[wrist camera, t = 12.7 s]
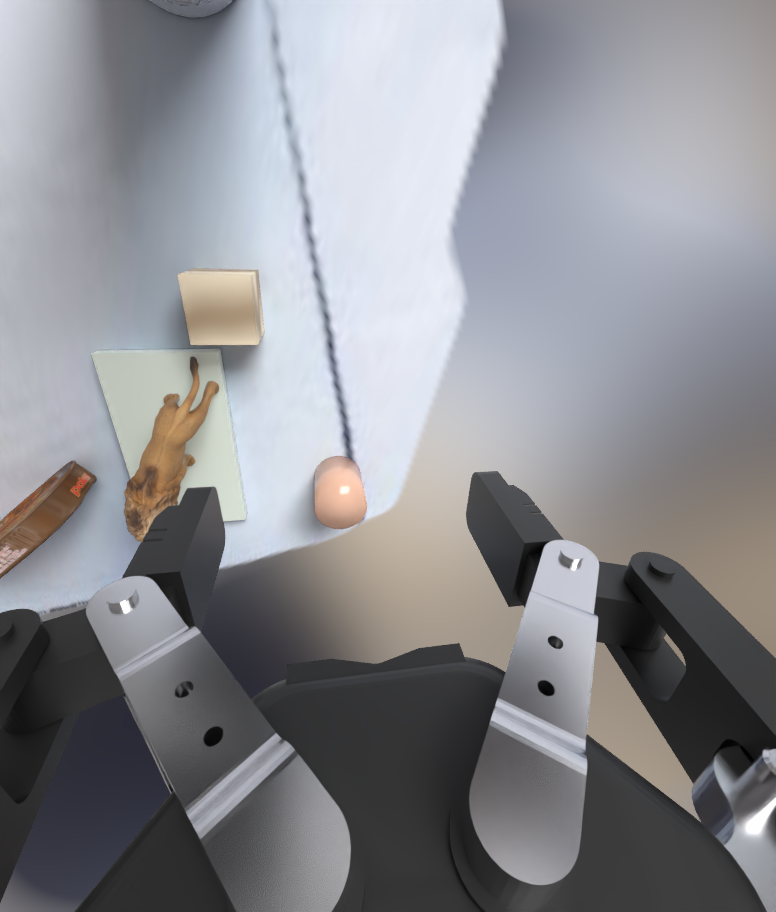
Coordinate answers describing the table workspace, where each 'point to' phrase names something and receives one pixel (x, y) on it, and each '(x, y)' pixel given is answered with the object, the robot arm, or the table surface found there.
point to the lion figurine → (166, 457)
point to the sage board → (168, 372)
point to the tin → (42, 514)
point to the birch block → (222, 306)
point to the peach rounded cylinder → (339, 493)
